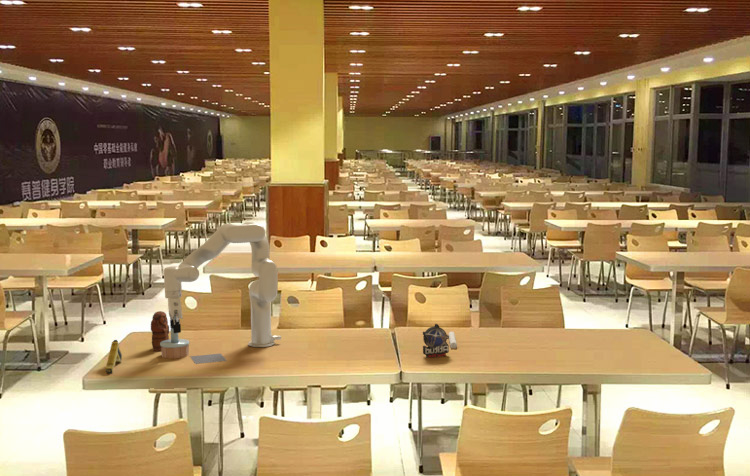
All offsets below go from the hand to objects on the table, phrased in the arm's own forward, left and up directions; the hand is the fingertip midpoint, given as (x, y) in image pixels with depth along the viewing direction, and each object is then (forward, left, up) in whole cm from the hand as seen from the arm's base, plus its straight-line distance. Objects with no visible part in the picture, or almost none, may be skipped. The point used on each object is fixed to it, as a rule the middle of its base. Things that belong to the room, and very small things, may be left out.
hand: (175, 330), depth 380 cm
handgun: (+28, +10, -12) cm, 32 cm away
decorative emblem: (-109, +47, -12) cm, 120 cm away
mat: (-12, +12, -12) cm, 21 cm away
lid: (+1, 0, -6) cm, 6 cm away
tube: (-129, +26, -12) cm, 132 cm away
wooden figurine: (+5, -17, -12) cm, 21 cm away
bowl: (+1, 0, -12) cm, 12 cm away
